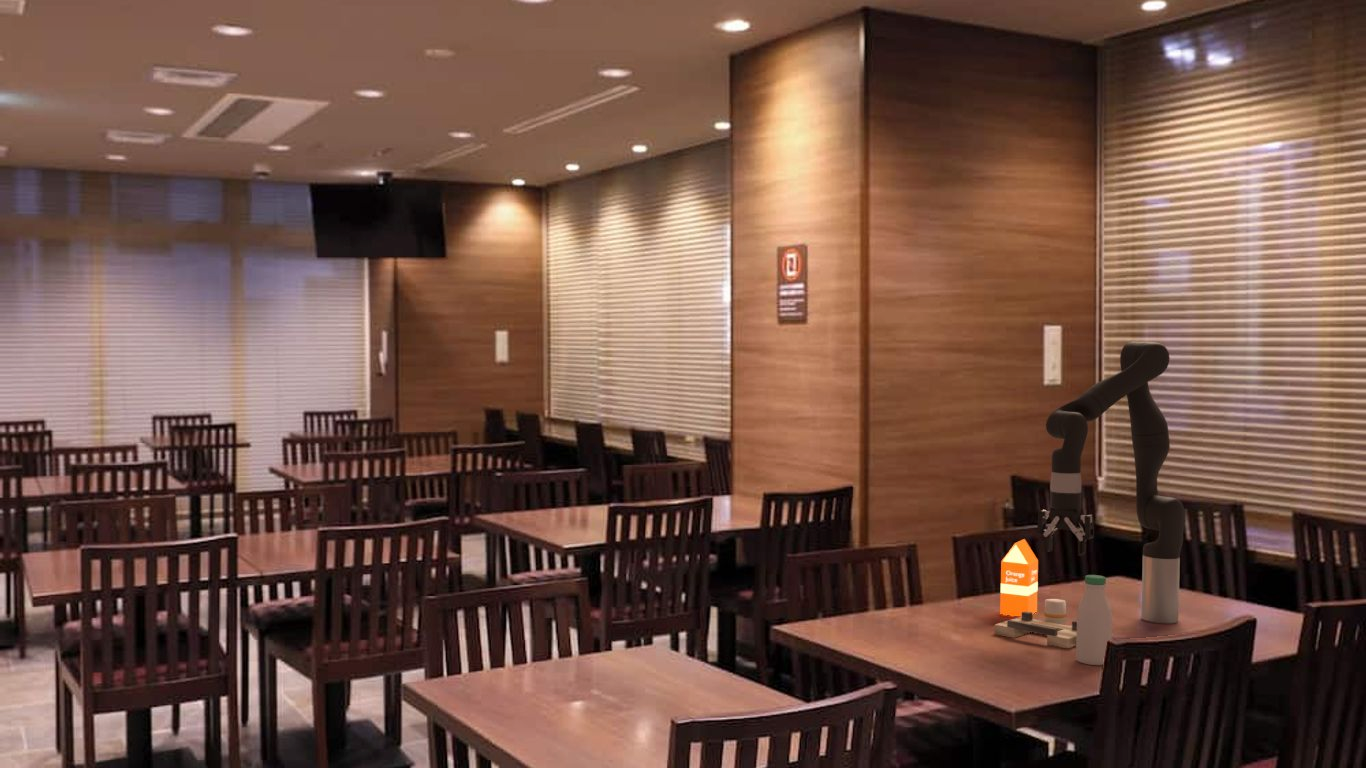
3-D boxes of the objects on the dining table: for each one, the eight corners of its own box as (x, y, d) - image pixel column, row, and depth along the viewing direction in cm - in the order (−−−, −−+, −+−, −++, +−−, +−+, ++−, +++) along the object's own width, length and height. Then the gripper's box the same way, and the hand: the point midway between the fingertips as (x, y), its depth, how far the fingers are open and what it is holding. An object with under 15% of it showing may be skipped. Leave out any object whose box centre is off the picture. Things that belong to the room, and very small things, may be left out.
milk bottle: (1113, 667, 277) (1115, 580, 276) (1078, 665, 278) (1079, 578, 277) (1108, 658, 284) (1110, 573, 283) (1074, 656, 286) (1075, 572, 285)
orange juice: (1037, 612, 333) (1039, 539, 332) (1028, 618, 325) (1029, 544, 325) (1009, 608, 337) (1010, 537, 336) (999, 614, 330) (1000, 541, 329)
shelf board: (1020, 625, 316) (1021, 609, 316) (1093, 639, 302) (1093, 622, 302) (994, 633, 307) (994, 616, 307) (1067, 648, 293) (1068, 630, 293)
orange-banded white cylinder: (1050, 624, 319) (1050, 597, 319) (1069, 627, 315) (1070, 601, 315) (1040, 627, 315) (1040, 600, 315) (1059, 631, 311) (1059, 604, 311)
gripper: (1099, 491, 306) (1098, 554, 306) (1046, 486, 316) (1045, 548, 316) (1085, 493, 300) (1084, 558, 301) (1032, 488, 310) (1032, 551, 311)
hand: (1064, 553), depth 309 cm, fingers open, 8 cm apart
